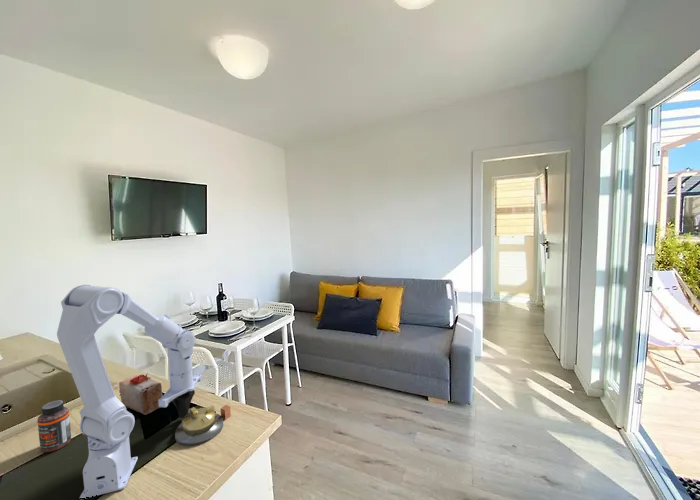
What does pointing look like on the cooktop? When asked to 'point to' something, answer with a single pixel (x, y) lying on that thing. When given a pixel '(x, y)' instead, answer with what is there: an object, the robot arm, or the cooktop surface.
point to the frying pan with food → (205, 436)
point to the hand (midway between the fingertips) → (183, 417)
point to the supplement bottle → (54, 426)
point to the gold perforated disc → (198, 420)
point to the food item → (140, 393)
